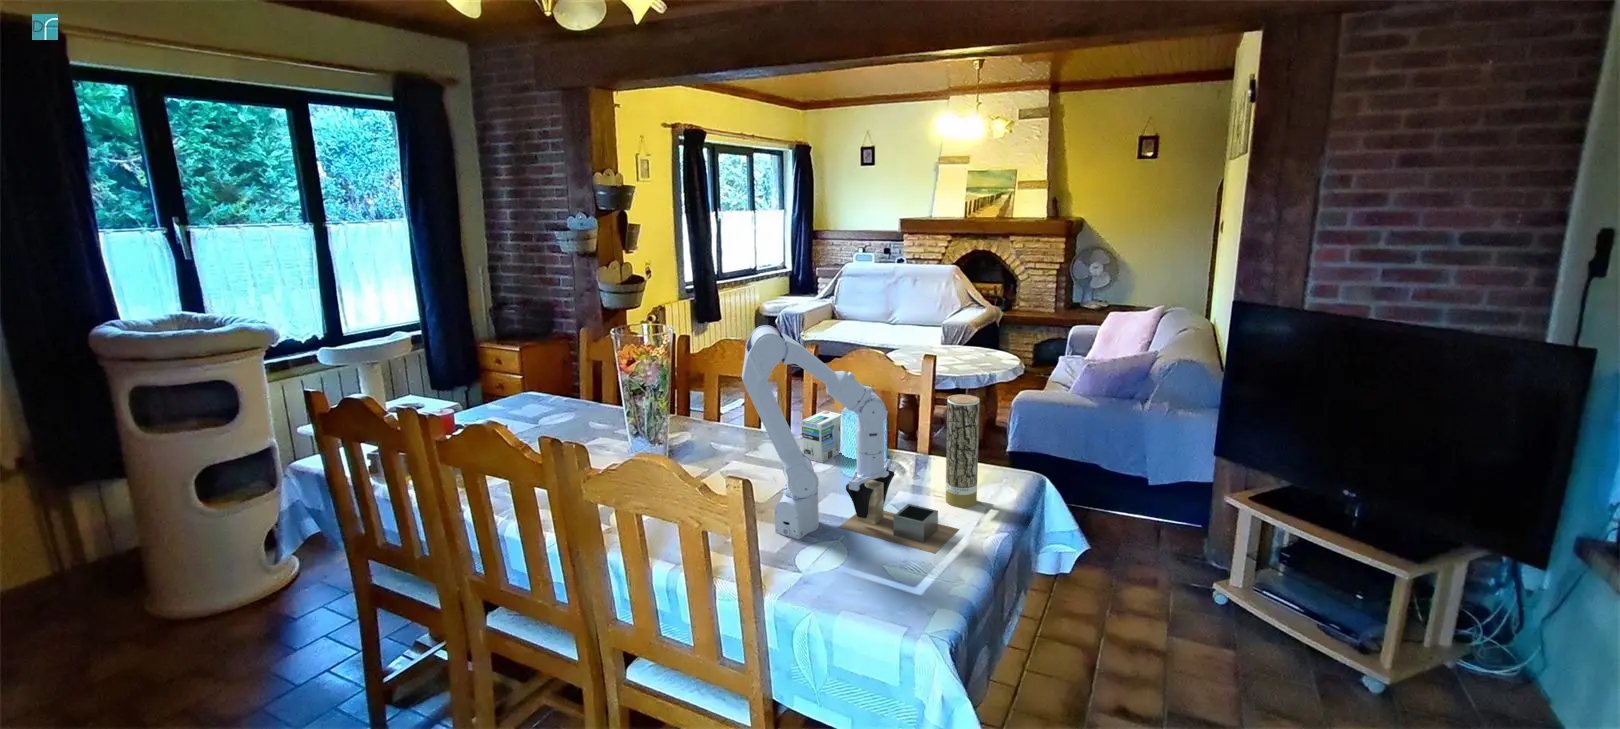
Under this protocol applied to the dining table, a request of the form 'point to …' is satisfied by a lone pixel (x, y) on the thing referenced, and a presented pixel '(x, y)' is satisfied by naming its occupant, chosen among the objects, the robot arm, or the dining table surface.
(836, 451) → the light bulb box
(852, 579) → the dining table surface
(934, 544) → the plank
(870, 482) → the beige wooden block
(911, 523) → the grey open box
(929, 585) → the dining table surface
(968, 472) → the paper tube
